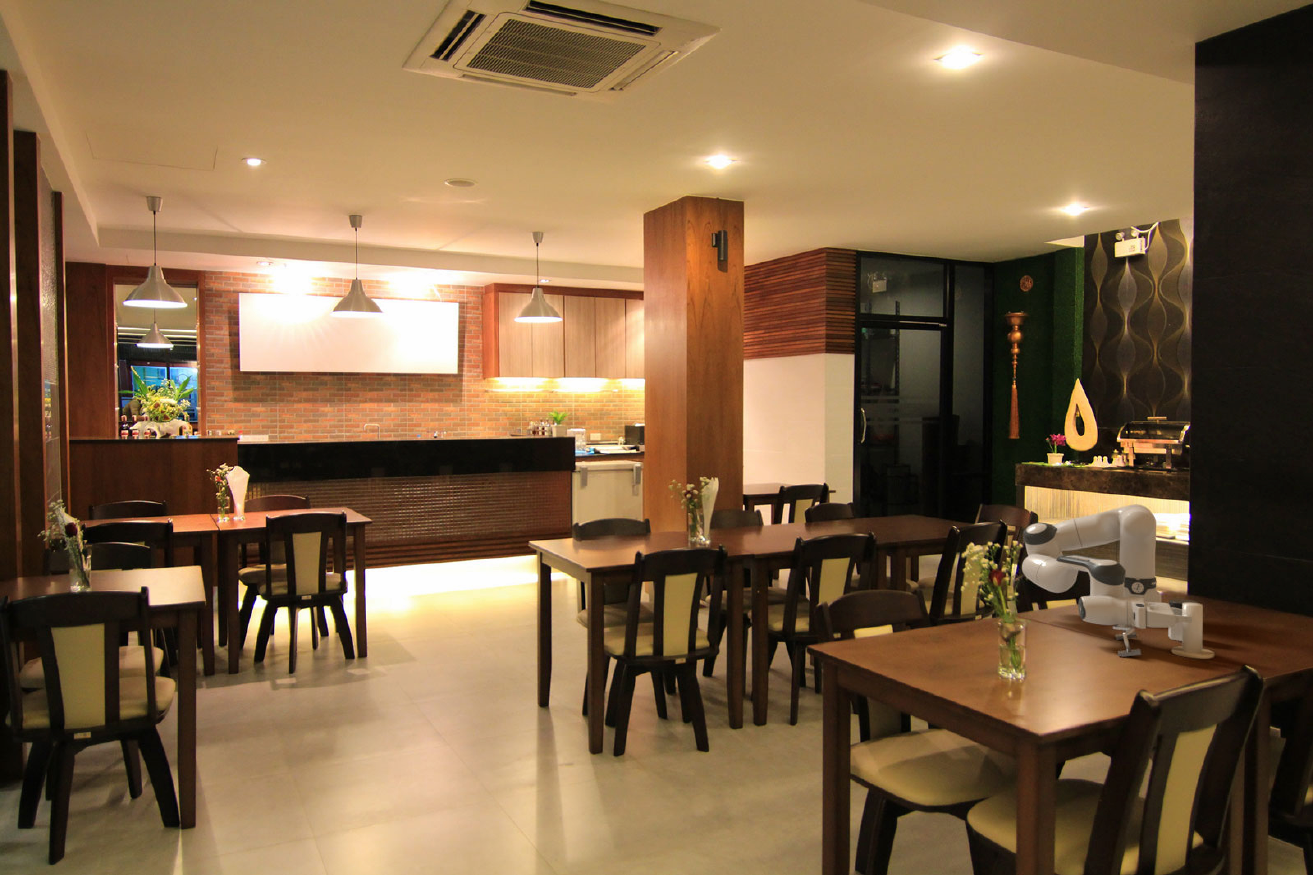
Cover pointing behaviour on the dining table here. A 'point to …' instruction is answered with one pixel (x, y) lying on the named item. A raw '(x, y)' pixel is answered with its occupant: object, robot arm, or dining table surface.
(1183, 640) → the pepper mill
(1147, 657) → the dining table surface
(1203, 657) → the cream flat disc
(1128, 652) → the coil spring stand
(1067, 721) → the dining table surface
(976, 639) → the dining table surface
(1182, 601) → the jar
